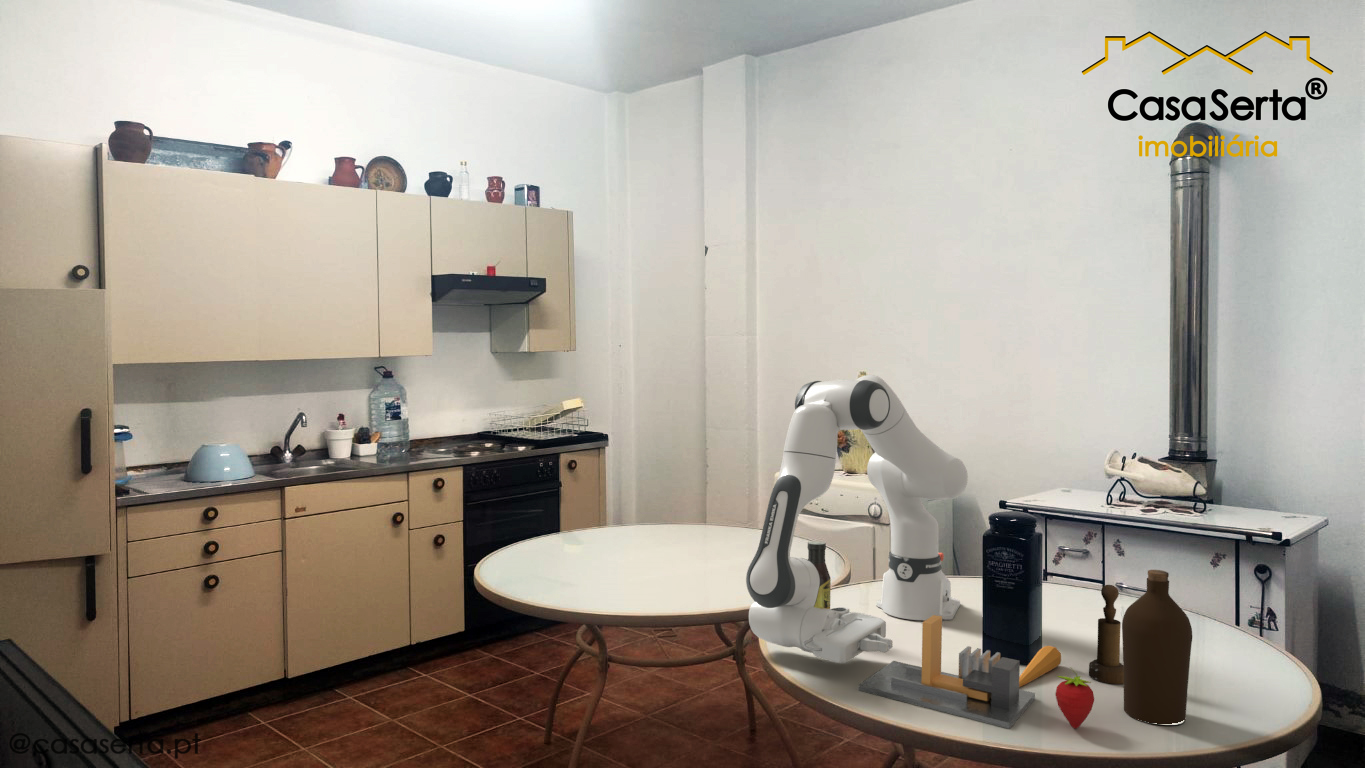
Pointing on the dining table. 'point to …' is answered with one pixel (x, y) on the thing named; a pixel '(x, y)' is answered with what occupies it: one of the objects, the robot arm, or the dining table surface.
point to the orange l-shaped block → (933, 662)
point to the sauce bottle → (820, 572)
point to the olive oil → (1156, 655)
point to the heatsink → (976, 674)
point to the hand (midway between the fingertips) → (889, 646)
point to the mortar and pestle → (1108, 643)
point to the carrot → (1040, 664)
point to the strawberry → (1074, 699)
